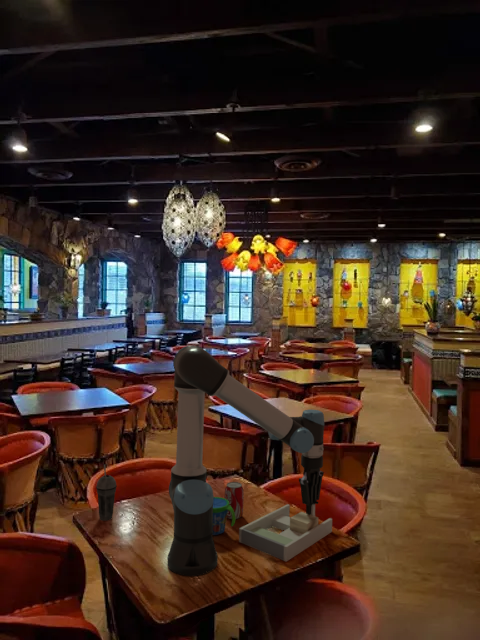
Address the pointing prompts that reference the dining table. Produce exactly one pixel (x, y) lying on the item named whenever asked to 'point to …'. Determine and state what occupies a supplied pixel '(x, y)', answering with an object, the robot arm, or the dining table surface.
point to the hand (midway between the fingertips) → (310, 522)
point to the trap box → (281, 535)
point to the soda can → (234, 498)
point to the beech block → (303, 522)
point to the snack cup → (221, 515)
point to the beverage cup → (106, 496)
